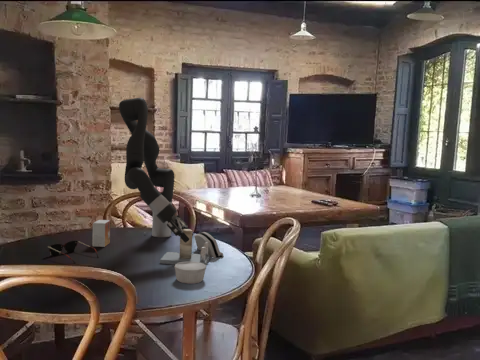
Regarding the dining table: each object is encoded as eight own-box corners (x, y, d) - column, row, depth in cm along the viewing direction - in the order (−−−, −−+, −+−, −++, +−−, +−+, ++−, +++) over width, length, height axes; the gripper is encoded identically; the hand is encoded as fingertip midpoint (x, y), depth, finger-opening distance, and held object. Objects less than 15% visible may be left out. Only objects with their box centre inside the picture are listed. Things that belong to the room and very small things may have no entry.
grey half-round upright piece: (224, 257, 196) (218, 235, 193) (214, 261, 194) (208, 240, 191) (207, 247, 210) (201, 227, 208) (198, 252, 208) (192, 231, 206)
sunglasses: (76, 250, 195) (77, 239, 195) (101, 260, 186) (102, 248, 186) (47, 257, 184) (47, 244, 183) (72, 267, 175) (72, 255, 174)
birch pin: (180, 255, 190) (181, 228, 189) (192, 255, 189) (193, 229, 188) (178, 258, 185) (179, 231, 184) (190, 259, 185) (191, 231, 183)
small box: (104, 247, 202) (105, 223, 201) (91, 246, 202) (92, 222, 201) (110, 243, 210) (110, 220, 209) (97, 242, 210) (98, 219, 209)
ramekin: (190, 273, 172) (190, 259, 171) (212, 280, 165) (212, 265, 164) (167, 279, 163) (167, 264, 163) (189, 287, 156) (190, 272, 156)
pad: (167, 255, 194) (167, 239, 193) (209, 258, 193) (210, 241, 192) (160, 263, 182) (160, 245, 181) (205, 266, 181) (206, 249, 180)
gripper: (165, 205, 178) (193, 236, 179) (173, 200, 192) (199, 229, 193) (151, 218, 179) (179, 249, 180) (160, 212, 193) (186, 240, 194)
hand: (189, 238), depth 186 cm, fingers open, 8 cm apart
